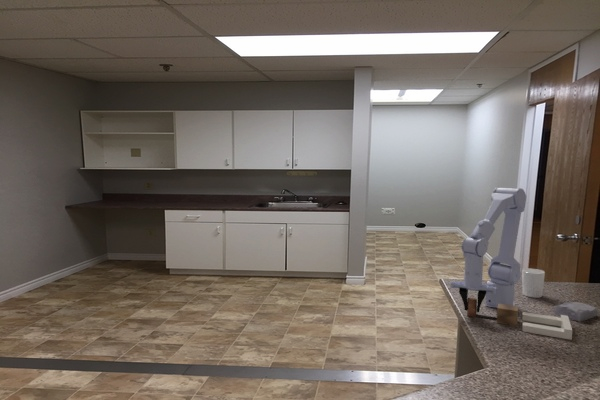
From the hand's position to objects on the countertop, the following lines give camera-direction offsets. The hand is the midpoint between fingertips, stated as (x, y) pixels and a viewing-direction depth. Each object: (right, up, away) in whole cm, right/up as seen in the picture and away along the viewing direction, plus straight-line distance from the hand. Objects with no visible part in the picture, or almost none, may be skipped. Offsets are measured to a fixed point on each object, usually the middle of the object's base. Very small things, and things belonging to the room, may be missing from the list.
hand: (472, 310), depth 140 cm
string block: (+5, -2, -3) cm, 6 cm away
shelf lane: (+18, -3, -10) cm, 21 cm away
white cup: (+33, 0, +22) cm, 40 cm away
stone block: (+36, -2, +1) cm, 36 cm away
